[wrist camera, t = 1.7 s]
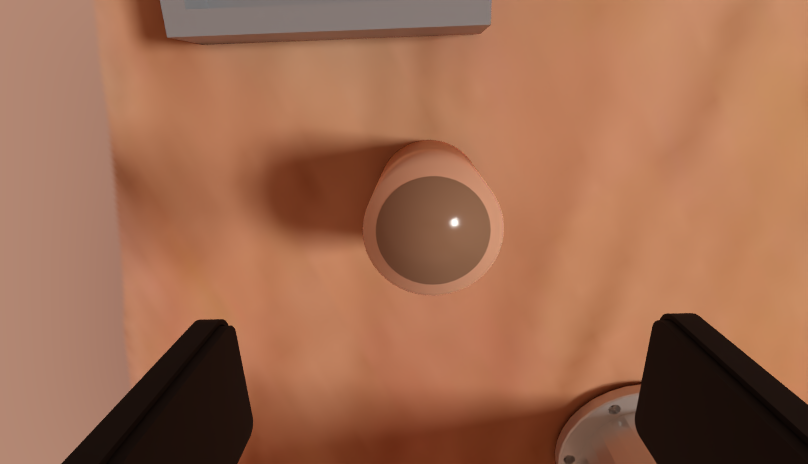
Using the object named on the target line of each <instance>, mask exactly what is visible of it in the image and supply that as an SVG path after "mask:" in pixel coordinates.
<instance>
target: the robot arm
mask: <svg viewBox="0 0 808 464" xmlns="http://www.w3.org/2000/svg"><path fill="white" fill-rule="evenodd" d="M252 428H253V417H252V412H251V407H250V401H249V396H248V391H247V386H246V381H245V376H244V371H243V366H242V361H241V356H240V351H239V346H238V341H237V336H236V331H235V328H234V327H233V326H228V323H227V322H226V321H225V320H223V319H216V320H197V321H195V322H194V323H193V324H192V325H191V326H190V327H189V328H188V330H187V331H186V332H185V333H184V334H183V335H182V336H181V337H180V338H179V339H178V340H177V341H176V342H175V343H174V344H173V345H172V347H171V348H170V349H169V350H168V351H167V352H166V353H165V354H164V355H163V356H162V357H161V358H160V359H159V360H158V361H157V363H156V364H155V365H154V366H153V367H152V368H151V369H150V370H149V371H148V372H147V373H146V374H145V375H144V376H143V377H142V379H141V380H140V381H139V382H138V383H137V384H136V385H135V386H134V387H133V388H132V389H131V390H130V391H129V392H128V393H127V395H126V396H125V397H124V398H123V399H122V400H121V401H120V402H119V403H118V404H117V405H116V406H115V407H114V408H113V410H112V411H111V412H110V413H109V414H108V415H107V416H106V417H105V418H104V419H103V420H102V421H101V422H100V423H99V424H98V425H97V426H96V428H95V429H94V430H93V431H92V432H91V433H90V434H89V435H88V436H87V437H86V438H85V439H84V441H82V442H81V444H80V445H79V446H78V447H77V448H76V449H75V450H74V451H73V452H72V453H71V454H70V455H69V456H68V457H67V458H66V459H65V461H64V462H63V463H62V464H237V463H238V461H239V459H240V457H241V455H242V453H243V451H244V448H245V446H246V444H247V442H248V440H249V438H250V435H251V432H252ZM555 460H556V464H808V405H807V404H806V403H805V402H804V401H803V400H801V399H800V398H799V397H798V396H796V395H795V394H794V393H793V392H791V391H790V390H789V389H788V388H787V387H785V386H784V385H783V384H782V383H780V382H779V381H778V380H777V379H776V378H774V377H773V376H772V375H771V374H769V373H768V372H767V371H766V370H765V369H763V368H762V367H761V366H760V365H758V364H757V363H756V362H755V361H754V360H752V359H751V358H750V357H749V356H747V355H746V354H745V353H744V352H743V351H741V350H740V349H739V348H738V347H736V346H735V345H734V344H733V343H732V342H730V341H729V340H728V339H727V338H725V337H724V336H723V335H722V334H720V333H719V332H718V331H717V330H716V329H714V328H713V327H712V326H711V325H709V324H708V323H707V322H706V321H705V320H703V319H702V318H701V317H700V316H698V315H696V314H693V313H679V314H664V315H663V316H662V317H661V318H660V320H657V321H655V323H654V324H653V327H652V331H651V337H650V342H649V347H648V352H647V357H646V362H645V367H644V372H643V377H642V382H641V384H639V385H633V386H626V387H622V388H619V389H616V390H613V391H609V392H607V393H605V394H603V395H601V396H599V397H596V398H594V399H593V400H591V401H590V402H588V403H587V404H585V405H584V406H583V407H581V408H580V409H579V410H578V411H577V412H576V413H575V414H574V415H573V416H572V417H571V418H570V419H569V420H568V422H567V423H566V424H565V426H564V427H563V429H562V431H561V433H560V435H559V438H558V440H557V444H556V450H555Z"/></svg>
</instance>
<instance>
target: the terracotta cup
mask: <svg viewBox="0 0 808 464" xmlns="http://www.w3.org/2000/svg"><path fill="white" fill-rule="evenodd" d="M503 234H504V221H503V215H502V211H501V208H500V205H499V203H498V201H497V199H496V197H495V195H494V194H493V192H492V191H491V189H490V188H489V186H488V185H487V184H486V182H485V181H484V179H483V178H482V176H481V175H480V174H479V172H478V171H477V169H476V168H475V167H474V165H473V164H472V162H471V161H470V160H469V158H468V157H467V156H466V155H465V154H464V153H463V152H461V151H460V150H459V149H457V148H456V147H454V146H452V145H450V144H448V143H445V142H441V141H435V140H425V141H418V142H414V143H412V144H409V145H407V146H405V147H403V148H402V149H400V150H399V151H397V152H396V153H395V154H394V155H393V156H392V157H391V158H390V160H389V161H388V162H387V164H386V165H385V167H384V169H383V171H382V174H381V176H380V178H379V181H378V183H377V185H376V187H375V190H374V192H373V194H372V197H371V199H370V201H369V203H368V206H367V208H366V211H365V215H364V220H363V239H364V244H365V248H366V251H367V253H368V256H369V258H370V260H371V262H372V263H373V265H374V266H375V268H376V269H377V270H378V271H379V273H380V274H381V275H382V276H384V277H385V278H386V279H387V280H388V281H390V282H391V283H392V284H394V285H396V286H397V287H399V288H401V289H404V290H406V291H409V292H412V293H415V294H421V295H444V294H449V293H453V292H456V291H459V290H462V289H464V288H466V287H468V286H470V285H471V284H473V283H475V282H476V281H477V280H478V279H480V278H481V277H482V276H483V275H484V274H485V273H486V272H487V271H488V270H489V268H490V267H491V266H492V265H493V263H494V261H495V260H496V258H497V256H498V253H499V251H500V249H501V245H502V241H503Z"/></svg>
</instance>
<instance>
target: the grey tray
mask: <svg viewBox="0 0 808 464" xmlns="http://www.w3.org/2000/svg"><path fill="white" fill-rule="evenodd" d="M160 4H161V9H162V14H163V19H164V24H165V29H166V34H167V37H168V38H172V39H177V40H182V41H187V42H192V43H197V44H202V45H203V44H229V43H255V42H281V41H307V40H333V39H359V38H385V37H411V36H437V35H463V34H481V33H482V32H483V31H484V30H485V29H486V28H487V27H489V26H490V25H491V0H160Z"/></svg>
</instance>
